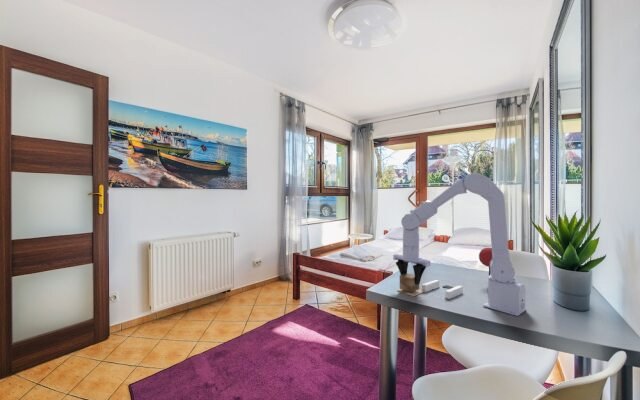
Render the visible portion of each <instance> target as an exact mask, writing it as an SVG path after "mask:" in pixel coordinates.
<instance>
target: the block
mask: <svg viewBox="0 0 640 400" xmlns="http://www.w3.org/2000/svg"><path fill="white" fill-rule="evenodd" d="M399 289H402V290H405V291H409V292H414V291H416V290H420V284H417V285H416V284H415V274H413V273H409V272H407V273H406V274H403V275H401V274H400V275H399Z"/></svg>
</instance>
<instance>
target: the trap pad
mask: <svg viewBox="0 0 640 400" xmlns="http://www.w3.org/2000/svg"><path fill="white" fill-rule="evenodd" d="M454 287H455V286H451V285H446V284H445V285H443V286H442V288H444V289H447V290H449V289H451V288H454Z"/></svg>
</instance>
